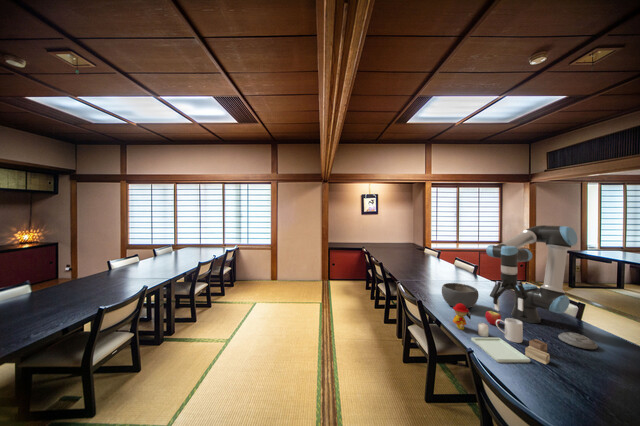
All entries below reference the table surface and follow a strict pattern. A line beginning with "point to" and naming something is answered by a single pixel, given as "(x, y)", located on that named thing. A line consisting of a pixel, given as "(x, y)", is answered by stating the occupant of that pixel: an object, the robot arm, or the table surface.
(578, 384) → the table surface
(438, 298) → the table surface
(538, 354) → the maple block
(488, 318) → the apple
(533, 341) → the walnut cube
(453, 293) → the bowl
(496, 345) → the tray
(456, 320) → the toy
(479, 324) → the round-ended white cylinder
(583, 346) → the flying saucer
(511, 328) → the mug
